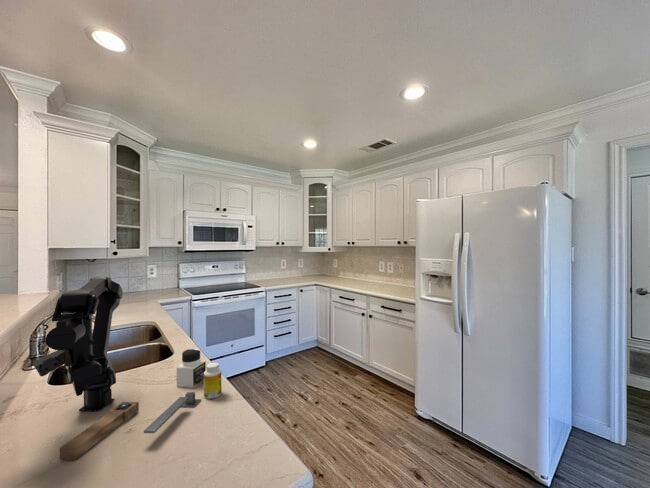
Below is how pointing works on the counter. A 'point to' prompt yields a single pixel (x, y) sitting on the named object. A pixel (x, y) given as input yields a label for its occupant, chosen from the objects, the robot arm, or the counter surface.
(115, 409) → the tan wooden bar
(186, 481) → the counter surface
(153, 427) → the grey flat bar piece
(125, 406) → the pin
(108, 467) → the counter surface
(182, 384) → the medicine bottle
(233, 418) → the counter surface
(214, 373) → the supplement bottle
